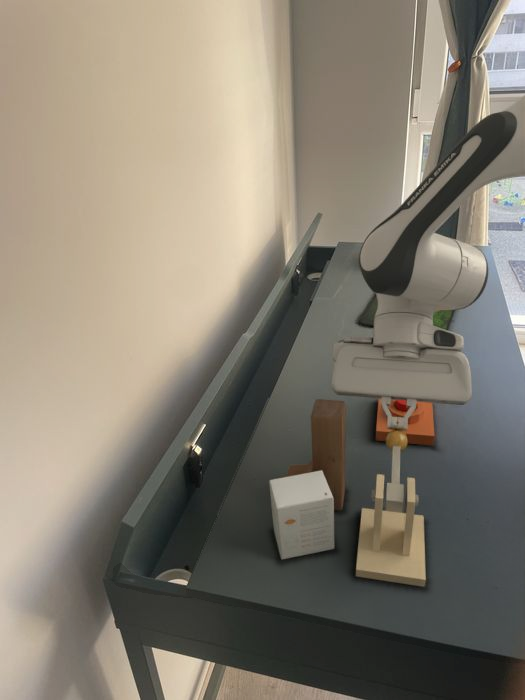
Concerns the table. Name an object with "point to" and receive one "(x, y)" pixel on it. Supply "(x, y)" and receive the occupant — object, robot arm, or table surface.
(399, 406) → the stop button
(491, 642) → the table surface
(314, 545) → the small box
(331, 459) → the wooden block
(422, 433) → the control block
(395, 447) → the lever with ball knob
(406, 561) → the beige base with uprights
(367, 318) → the mouse mat
